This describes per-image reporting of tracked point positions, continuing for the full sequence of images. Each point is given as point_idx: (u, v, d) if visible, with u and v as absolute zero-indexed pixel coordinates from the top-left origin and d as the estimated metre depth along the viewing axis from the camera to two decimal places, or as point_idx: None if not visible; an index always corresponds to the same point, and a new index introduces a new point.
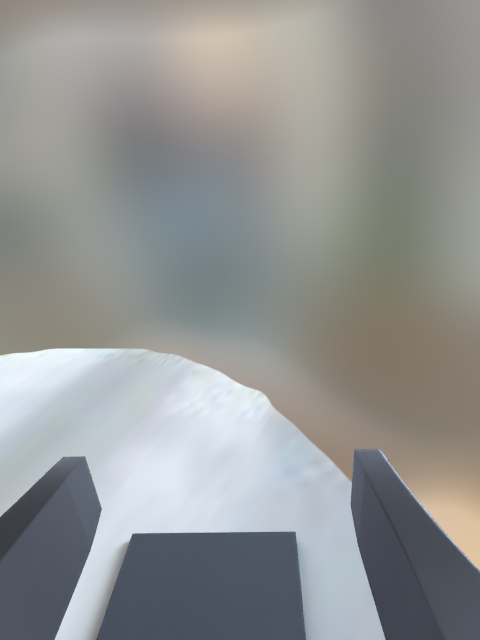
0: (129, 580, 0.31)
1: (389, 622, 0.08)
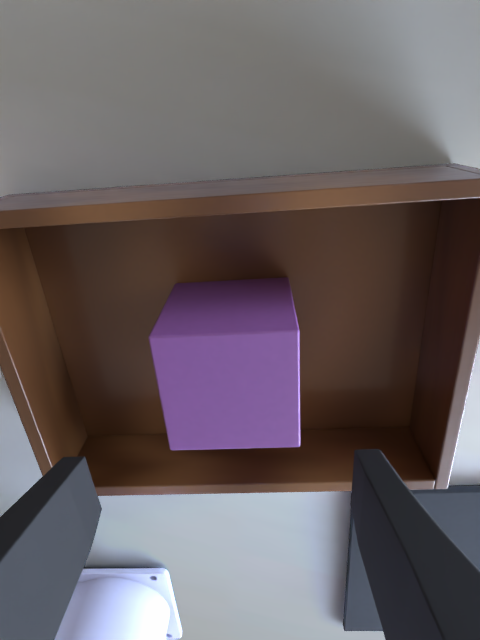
0: None
1: (389, 622, 0.08)
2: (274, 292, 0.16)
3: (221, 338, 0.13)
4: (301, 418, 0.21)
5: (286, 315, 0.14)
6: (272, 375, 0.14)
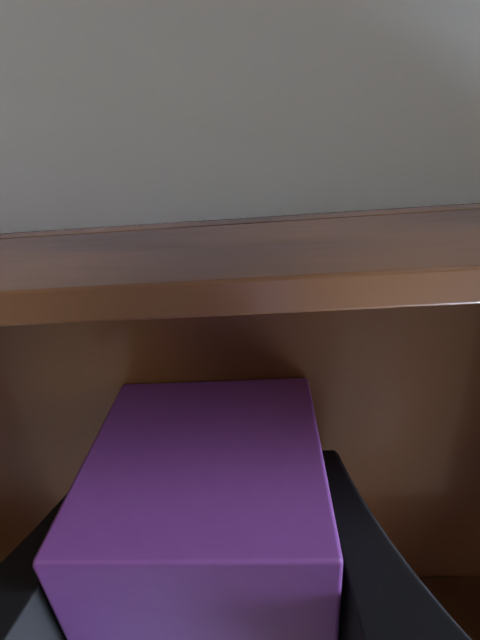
0: None
1: None
2: (285, 420, 0.09)
3: (181, 569, 0.06)
4: None
5: (311, 500, 0.07)
6: (285, 625, 0.07)
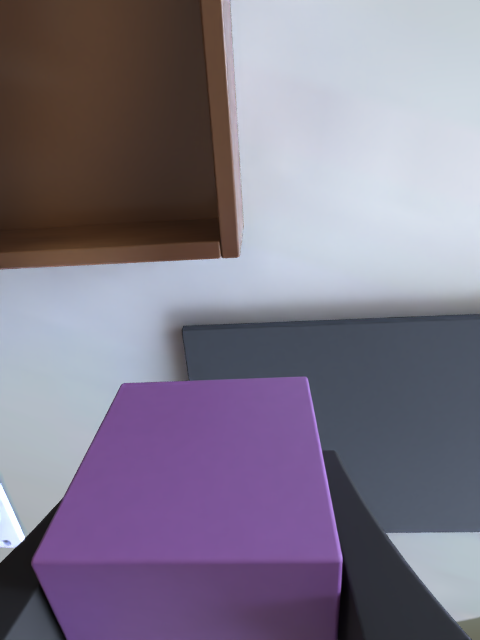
0: None
1: None
2: (285, 419, 0.09)
3: (180, 568, 0.06)
4: (87, 206, 0.16)
5: (310, 498, 0.07)
6: (285, 623, 0.07)
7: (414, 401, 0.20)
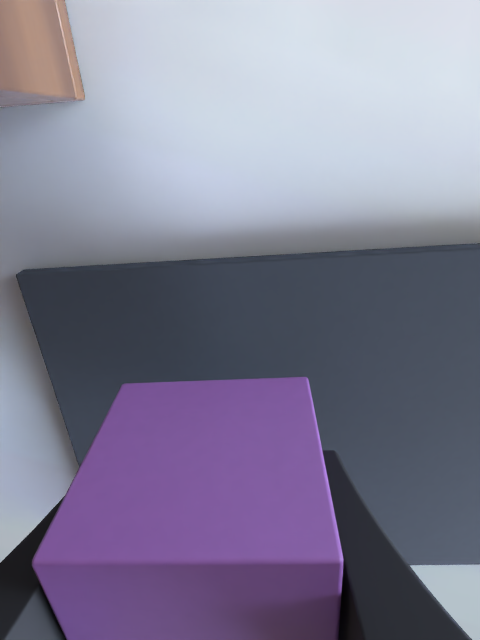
0: None
1: None
2: (285, 419, 0.09)
3: (180, 568, 0.06)
4: None
5: (311, 499, 0.07)
6: (286, 624, 0.07)
7: (374, 382, 0.13)
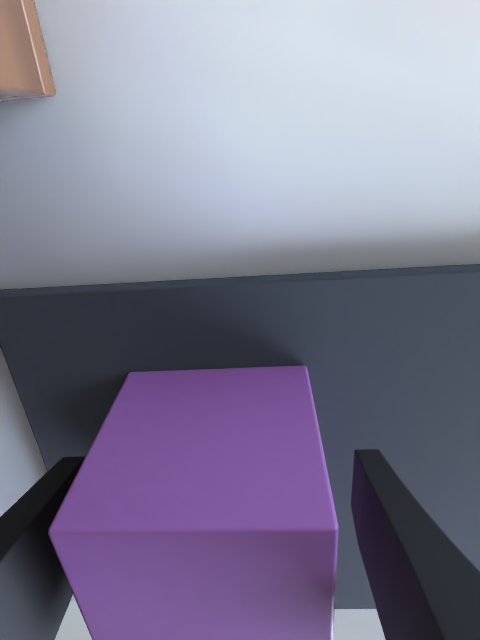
0: None
1: (389, 622, 0.08)
2: (285, 404, 0.10)
3: (187, 536, 0.07)
4: None
5: (309, 474, 0.08)
6: (285, 591, 0.07)
7: (391, 416, 0.12)
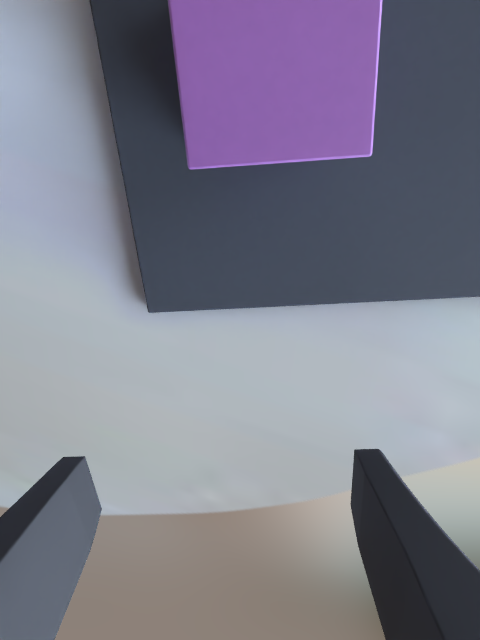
0: None
1: (389, 622, 0.08)
2: None
3: None
4: None
5: None
6: (342, 6, 0.09)
7: (414, 41, 0.14)
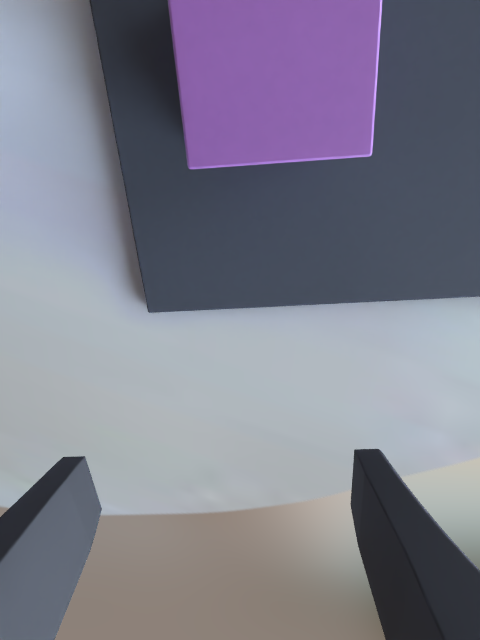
0: None
1: (389, 622, 0.08)
2: None
3: None
4: None
5: None
6: (342, 6, 0.09)
7: (414, 41, 0.14)
